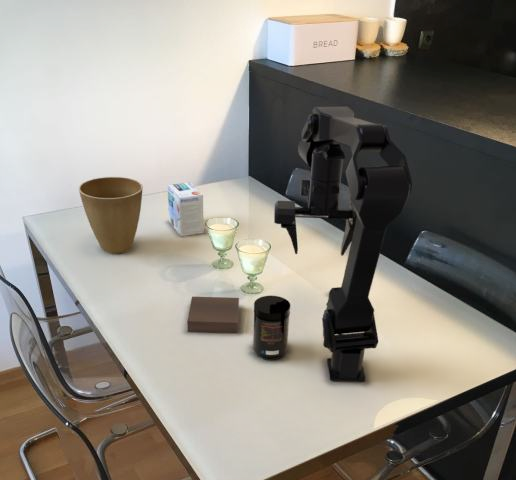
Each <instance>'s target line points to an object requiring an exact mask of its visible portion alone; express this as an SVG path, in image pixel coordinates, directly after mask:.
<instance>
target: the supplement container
mask: <svg viewBox="0 0 516 480" xmlns="http://www.w3.org/2000/svg"><path fill="white" fill-rule="evenodd" d="M290 314H291V303H290V301H289V300H288V299H287V298H284V297H282V296H279V295H263V296H261V297H257V299H256V300H254V302H253V330H252V331H253V332H252V350H253V352H254V354H255V355H256V356H258V357H259V358H261V359H264V360H278V359H280V358H282V357H284V356H285V355H286V353H287V351H288V344H289V343H288V341H289V328H290V327H289V326H290V316H291V315H290Z"/></svg>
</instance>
